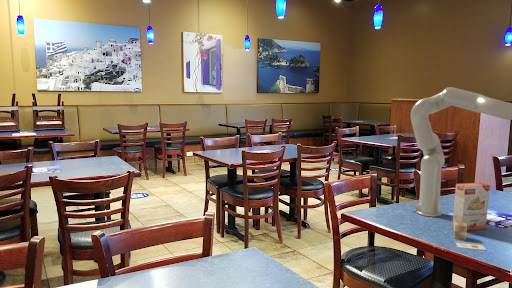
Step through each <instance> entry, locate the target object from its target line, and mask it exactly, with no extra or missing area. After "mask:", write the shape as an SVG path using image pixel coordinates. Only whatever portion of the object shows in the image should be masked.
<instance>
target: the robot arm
mask: <svg viewBox="0 0 512 288" xmlns="http://www.w3.org/2000/svg"><path fill="white" fill-rule="evenodd" d="M451 106H452V107H457V108H461V109H464V110H468V111H471V112H474V113H480V114H485V115H489V116H492V117H495V118H497V119H498V118H499V119H503V120H505V121H506V120H507V121H510V120H512V102H507V101H503V100H500V99H496V98H492V97H488V96H485V95H483V94H481V93H477V92H474V91H469V90H466V89H465V90H464V89H462V88H457V87H453V86H450V87H448V86H447V87H446V88H444V89H443V90H442V92H439V93H437V94H435V95H433V96H430V97H424V98H423V97H422V99H419V100H418V101H417V102H416V103H415V104H414V105H413V106H412V108H411V111H410V121H411V125H412V129H413V134H414V137H415V141H416V145H417V147H418V148H419V150H421V151H422V154H423V157H422V158H421V161H420V183H419V186H420V187H419V197H418V198H419V199H418V200H419V202H418V203H409V207H410V208H411V209H415V213H416V214H418V215H420V216H425V217H434V218H436V217H441V216H442V215H443V212H442V211H441V210H440V201H441V200H440V199H441V198H440V197H441V186H442V185H441V184H442V183H441V182H442V167H443V166H444V164H445V162H446V160H445V159H446V158H445V155H444V152H443V148H442V144H441V140H440V138H439V136H438V135H437V133H435V132H433V128H432V125H431V122H430V120H429V117H430V116H429V115H432V114H435V113H438V112H440V111H442V110H444V109H447V108H449V107H451Z"/></svg>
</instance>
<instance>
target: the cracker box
mask: <svg viewBox="0 0 512 288" xmlns="http://www.w3.org/2000/svg"><path fill="white" fill-rule="evenodd" d="M490 190H491V185H490V184H486V183H483V182H472V183H471V182H470V183H466V182H465V183H455V192H454V193H455V194H454V201H453V203H454V205H453V215H452V227H451V228H453V229H454V222H459V223H466V224H467V231H479V230H480V231H482V230H486V228H487V218H488V207H489V199H490V198H489V197H490Z"/></svg>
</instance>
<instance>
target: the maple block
mask: <svg viewBox="0 0 512 288" xmlns="http://www.w3.org/2000/svg"><path fill="white" fill-rule="evenodd" d="M467 235H468V233H467V224H466V223H459V222H454V228H453V238H454V239H455V240H461V241H462V240H463V241H467Z"/></svg>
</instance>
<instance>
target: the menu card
mask: <svg viewBox="0 0 512 288" xmlns="http://www.w3.org/2000/svg"><path fill="white" fill-rule="evenodd" d="M454 243H455V245H456V246H457V248H460V249H469V250H478V251H487V249H486V248H485V247H484V245H483V244H482V243H479V242H467V241H460V240H459V241H458V240H454Z"/></svg>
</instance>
